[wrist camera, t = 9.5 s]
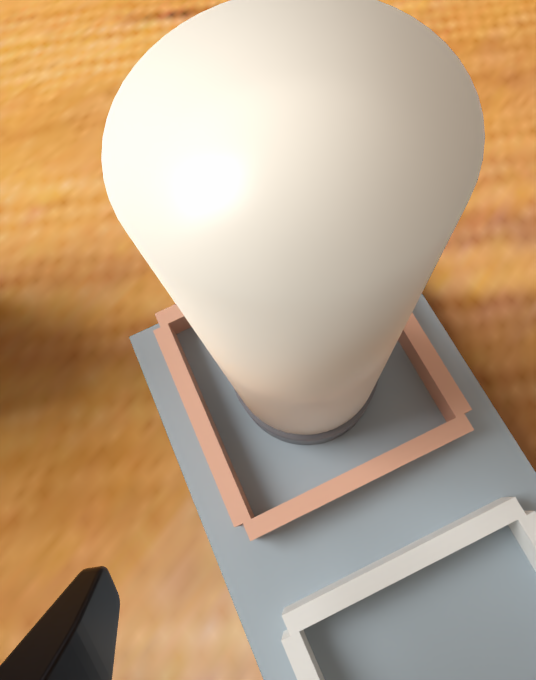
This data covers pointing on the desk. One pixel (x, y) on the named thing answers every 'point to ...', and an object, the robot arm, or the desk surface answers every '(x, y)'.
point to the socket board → (362, 517)
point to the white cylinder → (295, 191)
